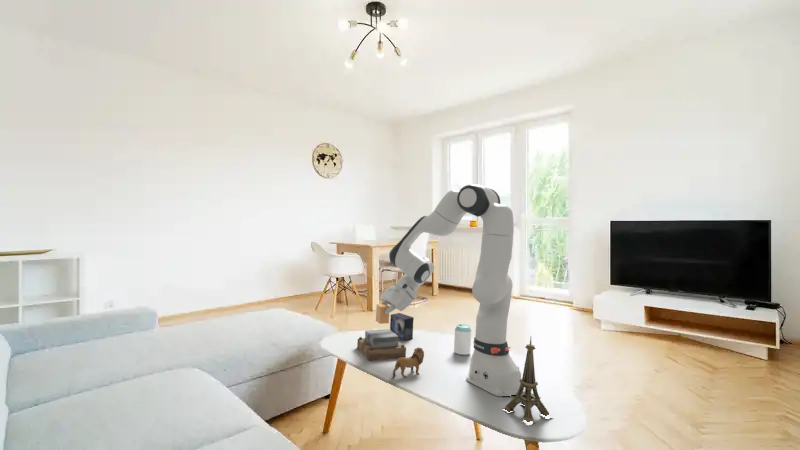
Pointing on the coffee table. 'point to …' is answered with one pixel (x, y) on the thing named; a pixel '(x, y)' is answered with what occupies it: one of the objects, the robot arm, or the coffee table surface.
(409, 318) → the small box
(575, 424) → the coffee table surface
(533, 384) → the eiffel tower
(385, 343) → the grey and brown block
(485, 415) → the coffee table surface
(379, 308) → the orange brick
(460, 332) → the can
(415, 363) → the lion figurine
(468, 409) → the coffee table surface
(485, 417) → the coffee table surface
